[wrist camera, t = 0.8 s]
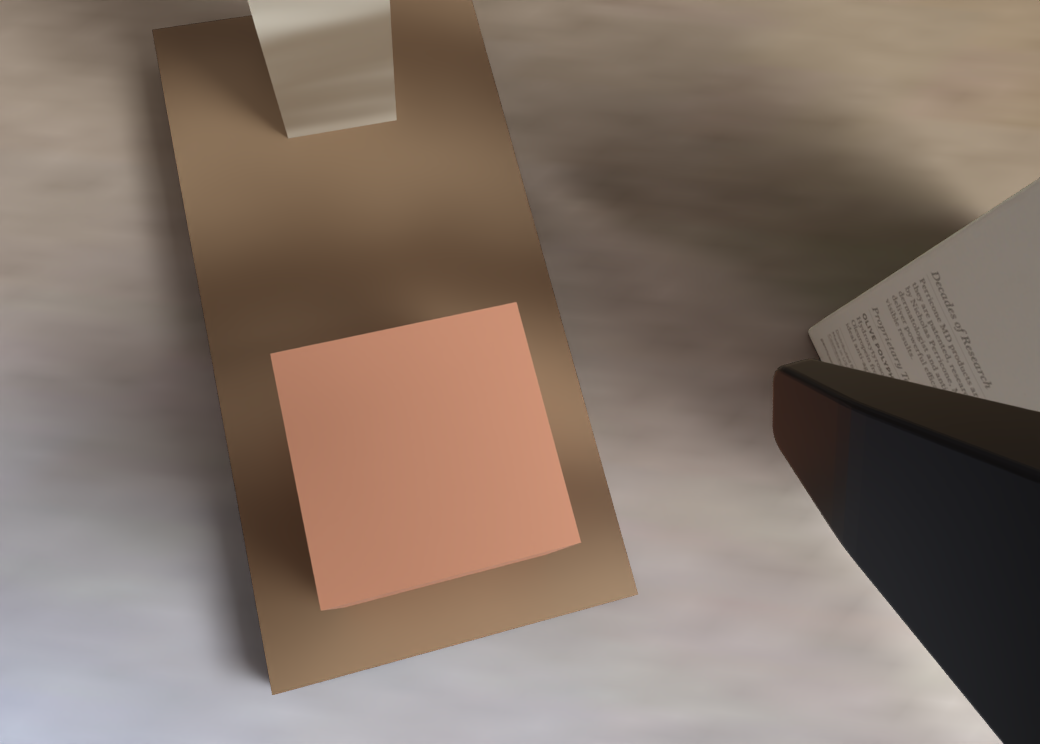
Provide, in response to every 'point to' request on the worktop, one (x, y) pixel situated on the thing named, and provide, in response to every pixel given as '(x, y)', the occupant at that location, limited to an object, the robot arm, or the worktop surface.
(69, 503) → the worktop surface
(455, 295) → the wooden base with post
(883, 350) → the skincare box
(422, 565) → the cube
